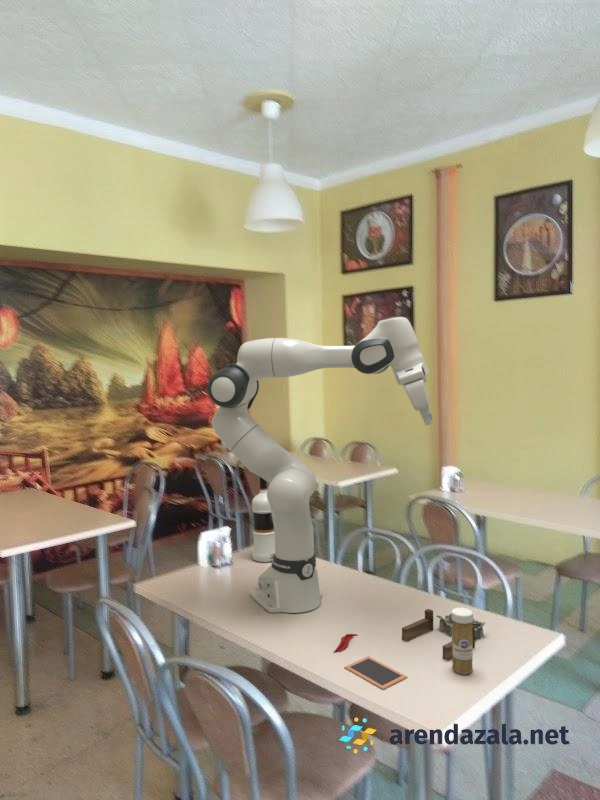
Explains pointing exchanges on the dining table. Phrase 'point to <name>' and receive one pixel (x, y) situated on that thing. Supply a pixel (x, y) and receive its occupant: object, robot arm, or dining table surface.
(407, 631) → the walled channel
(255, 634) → the dining table surface
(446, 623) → the egg carton
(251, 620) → the dining table surface
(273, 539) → the vodka
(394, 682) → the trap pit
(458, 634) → the sprinkles bottle
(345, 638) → the cayenne pepper
